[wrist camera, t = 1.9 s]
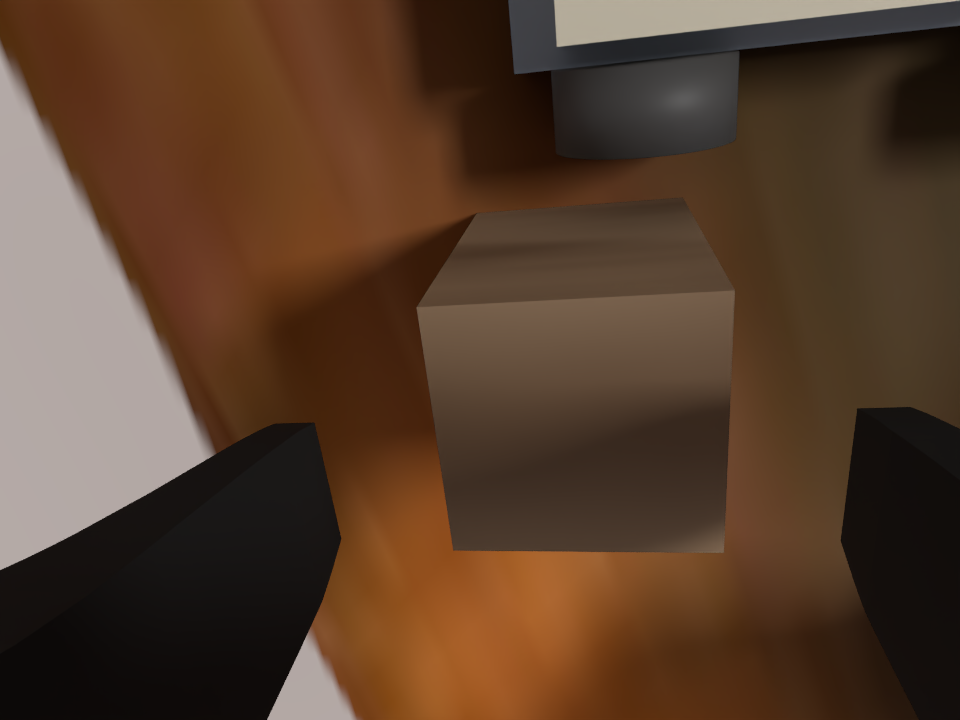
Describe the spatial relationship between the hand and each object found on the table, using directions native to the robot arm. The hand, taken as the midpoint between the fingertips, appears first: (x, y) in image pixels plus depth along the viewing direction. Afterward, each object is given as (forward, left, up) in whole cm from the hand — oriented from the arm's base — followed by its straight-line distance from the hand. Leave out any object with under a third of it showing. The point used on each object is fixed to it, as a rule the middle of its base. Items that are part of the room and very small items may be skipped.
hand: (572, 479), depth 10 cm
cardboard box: (0, 0, -7) cm, 7 cm away
